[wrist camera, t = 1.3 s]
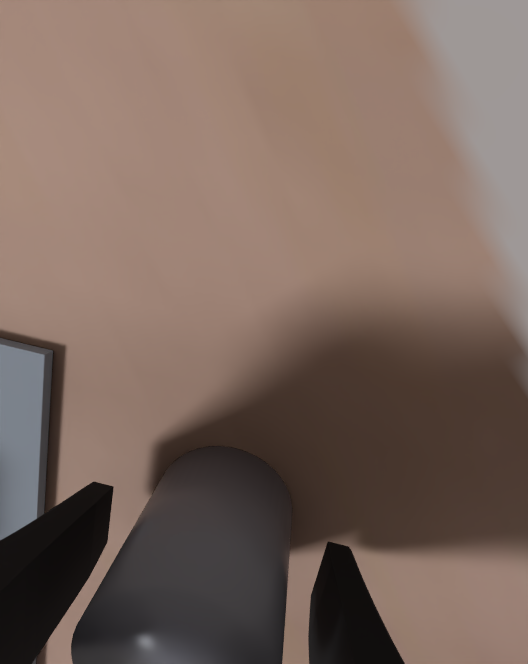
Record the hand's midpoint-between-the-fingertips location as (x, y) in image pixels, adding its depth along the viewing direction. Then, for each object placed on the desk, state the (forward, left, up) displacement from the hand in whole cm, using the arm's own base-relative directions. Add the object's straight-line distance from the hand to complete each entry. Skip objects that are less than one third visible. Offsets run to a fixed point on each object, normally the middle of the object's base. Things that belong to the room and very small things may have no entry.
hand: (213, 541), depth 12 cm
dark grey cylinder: (0, 0, -2) cm, 2 cm away
